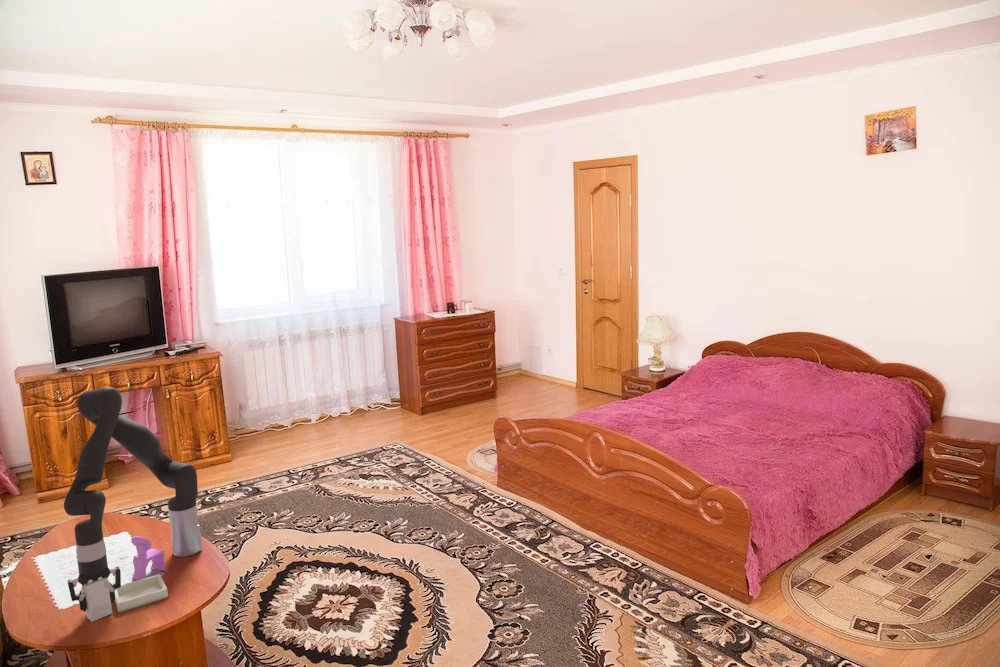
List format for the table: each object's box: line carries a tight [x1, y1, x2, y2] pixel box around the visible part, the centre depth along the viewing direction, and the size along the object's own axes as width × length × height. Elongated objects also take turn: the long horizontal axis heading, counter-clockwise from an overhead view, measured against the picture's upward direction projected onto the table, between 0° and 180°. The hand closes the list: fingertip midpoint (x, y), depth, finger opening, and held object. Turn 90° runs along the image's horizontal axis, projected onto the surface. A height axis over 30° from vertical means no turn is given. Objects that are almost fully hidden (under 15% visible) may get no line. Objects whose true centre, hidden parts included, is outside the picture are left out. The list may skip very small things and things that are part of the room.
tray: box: [114, 573, 169, 613], centre depth 222 cm, size 14×12×3 cm
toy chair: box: [130, 535, 167, 581], centre depth 236 cm, size 8×9×15 cm
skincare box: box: [81, 577, 113, 623], centre depth 211 cm, size 6×4×12 cm
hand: (98, 606), depth 211 cm, fingers closed on skincare box, 6 cm apart
